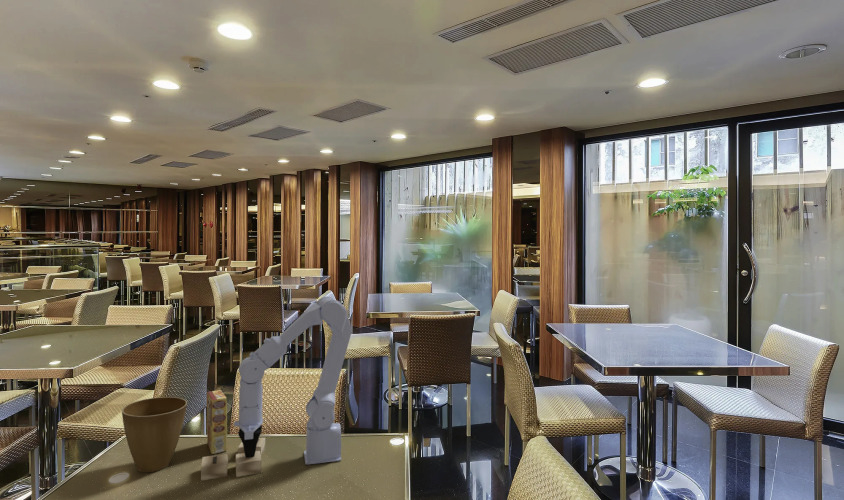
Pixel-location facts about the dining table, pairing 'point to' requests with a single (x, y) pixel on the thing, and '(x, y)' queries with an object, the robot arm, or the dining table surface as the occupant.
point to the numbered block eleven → (259, 446)
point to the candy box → (216, 421)
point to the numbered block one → (214, 466)
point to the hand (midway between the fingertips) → (250, 456)
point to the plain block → (248, 464)
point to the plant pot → (153, 430)
